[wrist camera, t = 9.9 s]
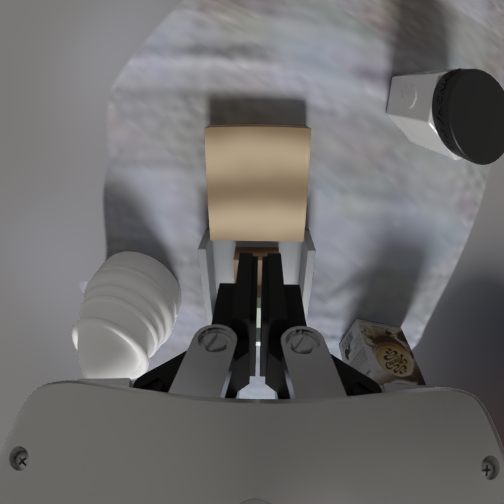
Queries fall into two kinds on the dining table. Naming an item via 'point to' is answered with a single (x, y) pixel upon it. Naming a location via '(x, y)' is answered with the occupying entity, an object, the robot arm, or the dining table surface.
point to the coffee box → (380, 353)
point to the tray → (222, 267)
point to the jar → (450, 112)
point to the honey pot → (125, 316)
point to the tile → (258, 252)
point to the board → (257, 181)
